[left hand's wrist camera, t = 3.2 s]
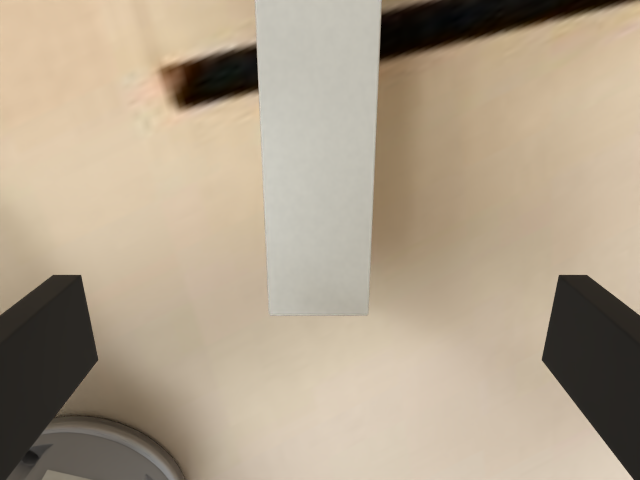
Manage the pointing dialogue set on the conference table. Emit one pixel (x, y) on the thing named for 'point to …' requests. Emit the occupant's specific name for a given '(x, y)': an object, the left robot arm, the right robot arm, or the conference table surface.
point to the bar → (318, 151)
